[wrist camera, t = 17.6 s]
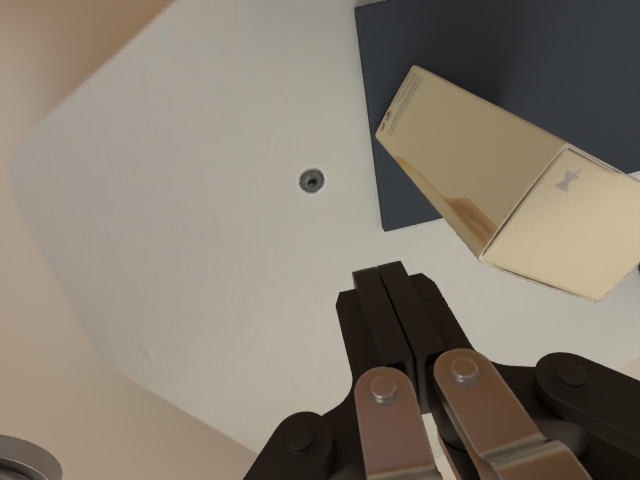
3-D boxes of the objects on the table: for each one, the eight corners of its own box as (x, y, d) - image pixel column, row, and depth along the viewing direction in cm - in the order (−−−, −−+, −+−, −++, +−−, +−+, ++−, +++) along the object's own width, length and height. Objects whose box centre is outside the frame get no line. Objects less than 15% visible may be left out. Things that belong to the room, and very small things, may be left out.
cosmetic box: (371, 136, 23) (465, 261, 13) (411, 60, 21) (560, 135, 11) (459, 176, 25) (601, 311, 15) (504, 111, 23) (700, 213, 13)
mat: (382, 227, 27) (384, 232, 27) (353, 7, 20) (356, 8, 19) (643, 165, 27) (650, 168, 27) (708, -76, 20) (720, -78, 20)
